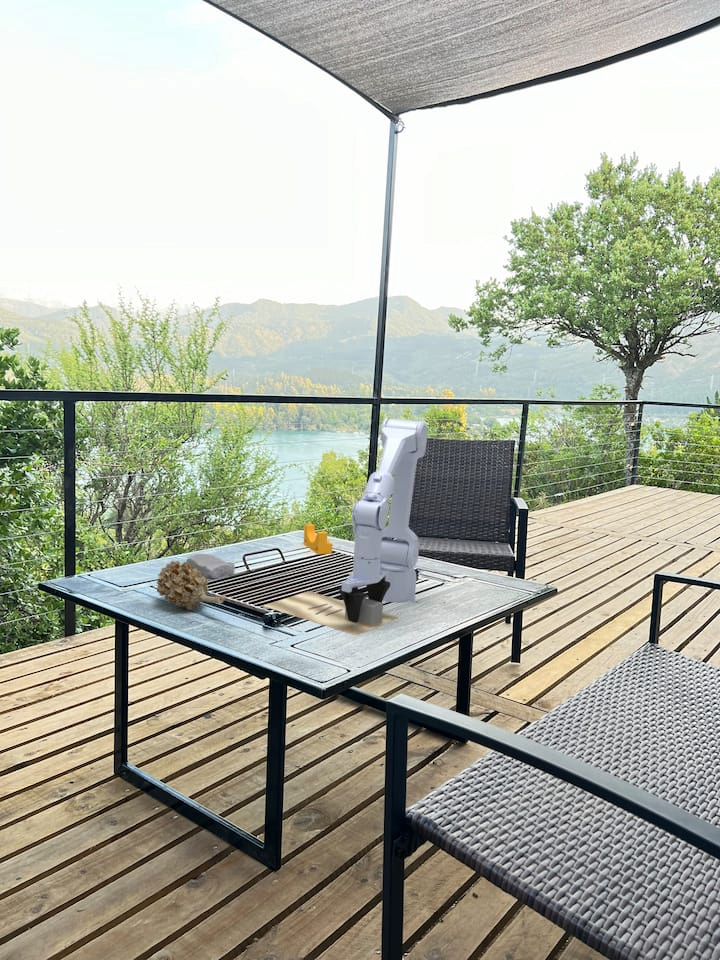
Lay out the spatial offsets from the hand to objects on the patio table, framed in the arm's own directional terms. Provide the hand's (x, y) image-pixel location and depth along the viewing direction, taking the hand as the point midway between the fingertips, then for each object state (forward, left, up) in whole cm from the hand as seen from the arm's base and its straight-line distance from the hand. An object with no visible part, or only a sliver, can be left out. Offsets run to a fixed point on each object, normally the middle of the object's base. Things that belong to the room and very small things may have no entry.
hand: (363, 617), depth 170 cm
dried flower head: (+18, -34, -3) cm, 38 cm away
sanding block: (0, 0, -1) cm, 1 cm away
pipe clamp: (-46, -50, -3) cm, 69 cm away
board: (0, -9, -2) cm, 9 cm away
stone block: (-6, -53, -3) cm, 54 cm away
